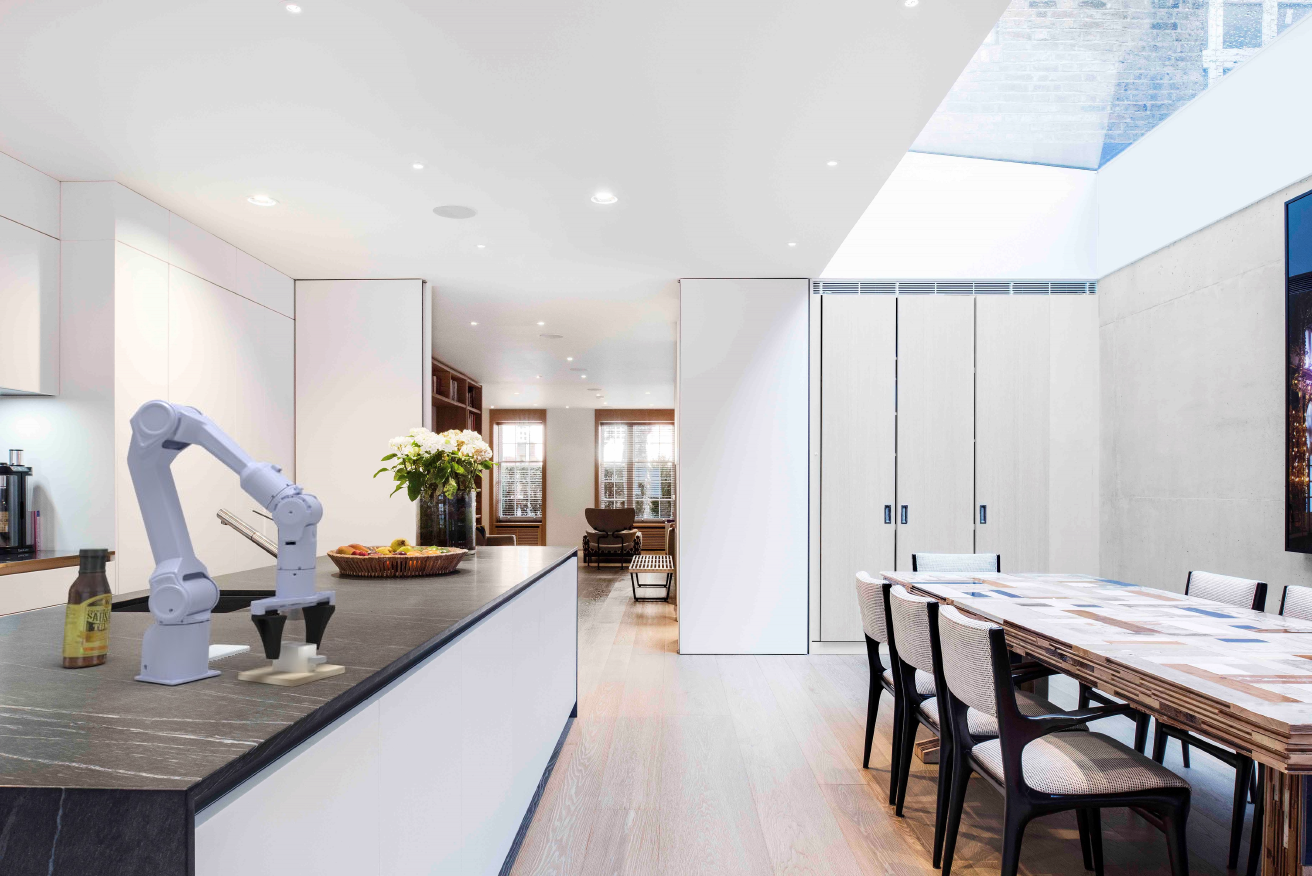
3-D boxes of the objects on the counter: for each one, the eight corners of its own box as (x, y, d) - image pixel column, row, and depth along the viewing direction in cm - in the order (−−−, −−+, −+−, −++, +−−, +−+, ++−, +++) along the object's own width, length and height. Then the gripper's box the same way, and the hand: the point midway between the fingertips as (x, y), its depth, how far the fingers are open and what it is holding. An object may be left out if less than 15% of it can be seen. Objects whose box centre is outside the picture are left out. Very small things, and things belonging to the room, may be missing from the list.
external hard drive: (249, 654, 138) (196, 669, 126) (212, 653, 140) (155, 667, 128) (250, 645, 138) (197, 659, 126) (212, 644, 140) (156, 657, 128)
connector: (268, 669, 119) (269, 644, 119) (284, 665, 121) (285, 640, 122) (313, 675, 115) (314, 648, 115) (329, 671, 117) (330, 645, 118)
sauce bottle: (88, 669, 124) (95, 549, 125) (51, 669, 124) (59, 549, 125) (117, 660, 130) (123, 547, 132) (82, 660, 130) (89, 547, 132)
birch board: (238, 679, 116) (238, 672, 116) (291, 666, 125) (292, 660, 125) (292, 686, 111) (293, 680, 112) (344, 672, 121) (345, 666, 121)
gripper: (275, 573, 112) (271, 665, 110) (349, 565, 125) (347, 647, 124) (242, 572, 114) (238, 661, 113) (319, 564, 128) (316, 644, 127)
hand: (293, 654), depth 119 cm, fingers open, 7 cm apart
